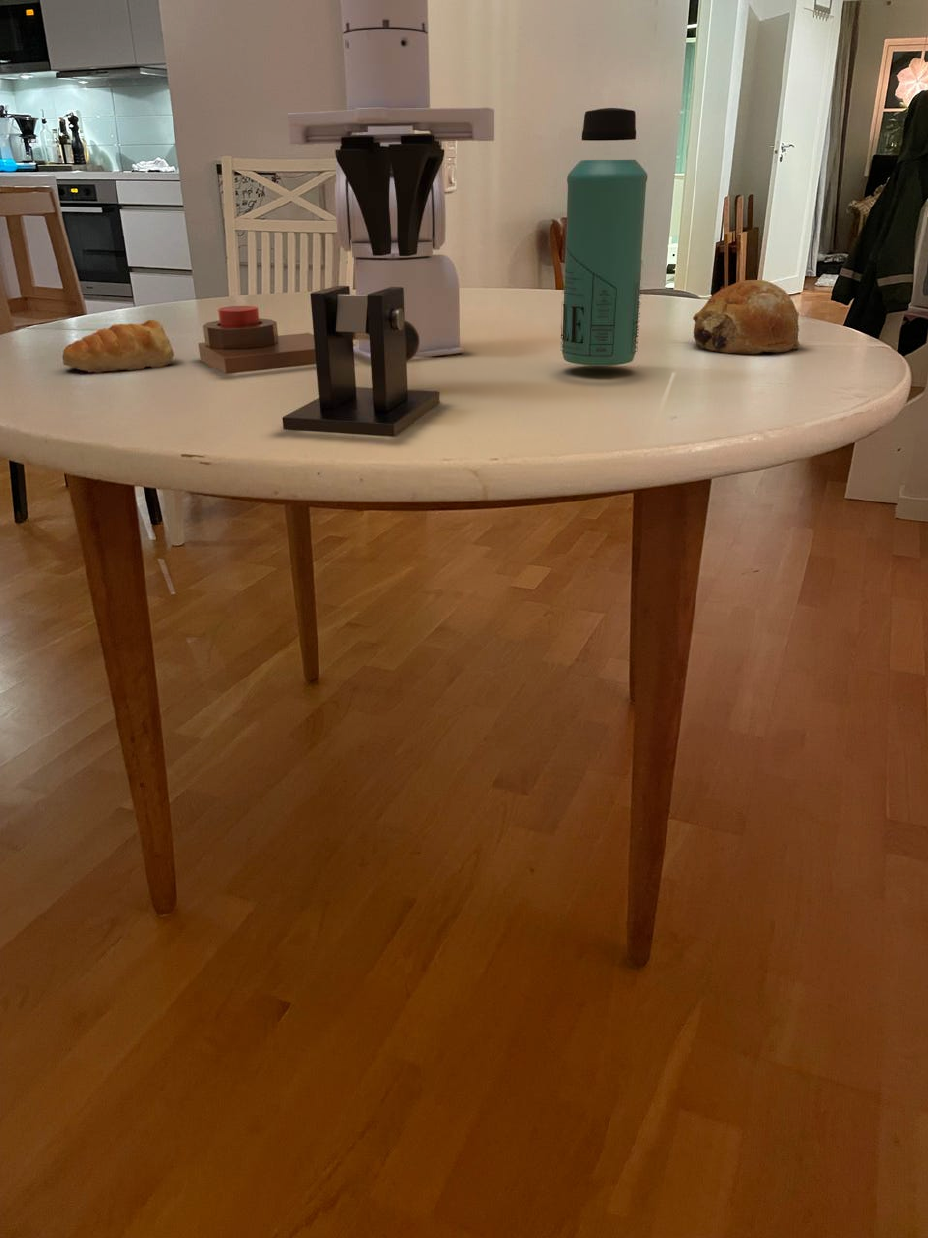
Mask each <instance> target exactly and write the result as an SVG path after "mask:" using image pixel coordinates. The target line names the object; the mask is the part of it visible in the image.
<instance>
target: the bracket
mask: <svg viewBox="0 0 928 1238" xmlns="http://www.w3.org/2000/svg"><path fill="white" fill-rule="evenodd" d="M338 295H351V289H350V286H349V285H335V286H330V287H327V288H324V289H321V290H317V291H313V292H311V293H310V305H311V306H310V307H311V317H312V331H313V335H314V343H315V355H316V364H315V365H316V378H317V392H318V398H316V399H314V400H312V401H311V402H308V403H306V404H304V405H303V406H301V407H299V408H297V409H295V410H293V411H292V412H290V413H288V414H286V415H284V416H282V428H283V430H288V431H300V432H301V431H303V432H315V433H316V432H317V433H330V434H331V433H332V434H346V435H362V436H378V437H392V438H394V437H396V436H397V435H399V434H400V433H401V432H404V430H405V429H407V428H408V427H409V426H410V425H412V424H413V423H415V422H416V421H417V420H419V419H420V418H421V417H422V416H424V415H425V414H426V413H428V412H430V410H432V409H433V408H435V407H436V406H438V405H439V403H440V402H441V401H440V391H436V390H421V389H419V390H417V389H408V365H407V362H406V337H405V311H404V288H403V287H390V288H386V289H383V290H380V291H377V292H374V293H371V294H368V295H367V300H368V318H369V336H370V353H371V359H370V370H371V386H372V387H364V386H363V387H361V386H357V384H356V383H357V381H356V367H355V354H354V349H353V344H354V340H352V339H350V338H348V337H346V336H344V335H342V334H340V333H338V332H336V317H337V302H338Z"/></svg>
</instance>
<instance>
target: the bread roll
mask: <svg viewBox="0 0 928 1238" xmlns="http://www.w3.org/2000/svg"><path fill="white" fill-rule="evenodd" d="M799 316H800V313H799V312H798V310H797V309H796V306H795V303H794V301H793V300H792V298H791V297H790V295H789V294H788V293H787V292H786V290H785V289H783V288H781V287H780V286H778V285H776V284H774V283H773V282H770V281H767V280H763V279H748V280H747V279H746V280H740V281H738V282H735V283H733V284H730V285H728V286H726V287H724V288H721V289H720V290H719V291H717V292H716V293H714V294H713V295H712V296H711V297H710V298H709V299H708V300H707V301H706V302H705V304H704V305H703V307H702V308H701V309H700V310H699V311H698V312H696V313H695V314H694V315H693V317H692V319H693V320H694V322H695V323H694V328H693V338H694V341H695V343H696V344H697V345H698V346H699V347H700V348H701V349H705V350H708V351H711V352H719V353H726V354H740V355H760V354H762V353H786V352H789V351H790V350H797V349H798V348H799V346H800V342H799V331H800V328H799V327H800V325H799Z"/></svg>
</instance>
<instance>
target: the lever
mask: <svg viewBox="0 0 928 1238" xmlns="http://www.w3.org/2000/svg"><path fill="white" fill-rule="evenodd" d="M336 332H338V333H340V334H342V335H344V336H346V337H348V338H350V339H352V340H353V341H356V340H357V341H359V340H370V336H369V318H368V300H367V295H356V294H350V295H338V302H337V317H336ZM405 337H406V363H407V362H409V361H411V360H412V359H413V358H414V356H415V354H416V353H417V351H418V349H419V344H420V340H419V335H418V332H417V330H416V329H415V327H414V326H413V325H412V324H411V323H409V322H407V321H405Z"/></svg>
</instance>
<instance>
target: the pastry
mask: <svg viewBox="0 0 928 1238" xmlns="http://www.w3.org/2000/svg"><path fill="white" fill-rule="evenodd" d="M174 356H175V353H174V349H173V346H172V343H171V341H170V339H169V336H167V334H166V332H165V330H164V326H163V324H161V323H160V322H159V321H158V320H155V319H148V320H146V321H144V322H143V323H128V324H127V323H126V324H125V323H118V324H112V325H111V326H109V327H108V328H106V327H105V328H100V329H98V330H97V331H96V332H93V333H91V334H89V335H86V336H83V337H82V338H81V339H79V340H75V341H73V342H72V343H70V344H67V345H66V346H65V348H64V349H63V351H62V356H61V357H62V365H63V366H66V367H70V368H74V369H76V370H80V371H85V372H88V373H89V374H90V373H95V374H96V373H103V372H117V371H120V370H127V371H135V370H143V369H144V368H146V367H151V368H152V369H155V368H162V367H165V366H169V365H172V364H173V363H172V361H173V358H174Z"/></svg>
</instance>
